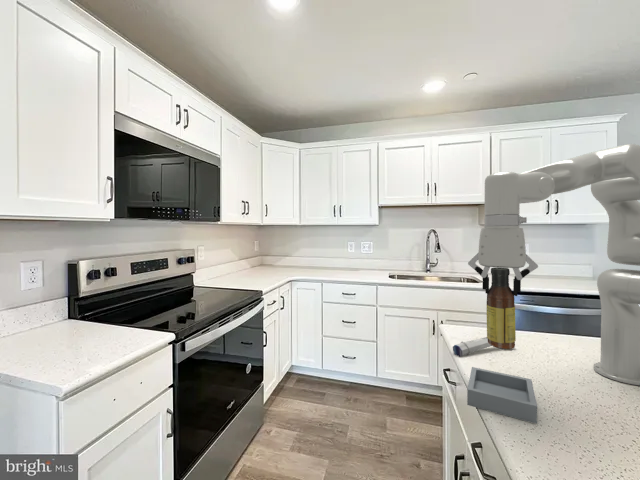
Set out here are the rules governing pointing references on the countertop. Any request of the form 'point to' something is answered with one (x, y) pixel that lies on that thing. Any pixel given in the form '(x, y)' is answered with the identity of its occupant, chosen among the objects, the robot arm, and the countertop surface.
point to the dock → (502, 394)
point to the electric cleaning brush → (471, 346)
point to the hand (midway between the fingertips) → (500, 293)
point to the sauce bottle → (501, 311)
